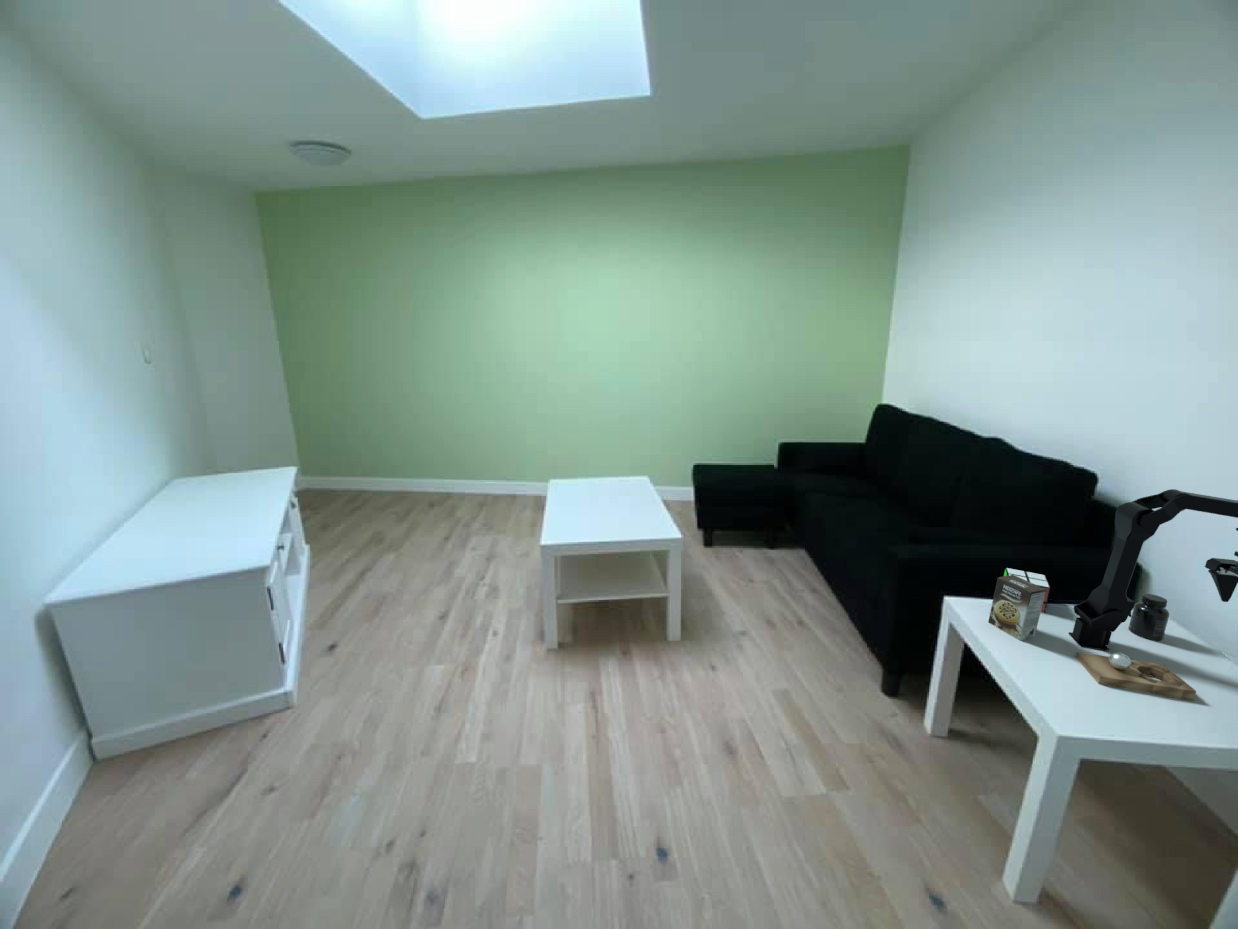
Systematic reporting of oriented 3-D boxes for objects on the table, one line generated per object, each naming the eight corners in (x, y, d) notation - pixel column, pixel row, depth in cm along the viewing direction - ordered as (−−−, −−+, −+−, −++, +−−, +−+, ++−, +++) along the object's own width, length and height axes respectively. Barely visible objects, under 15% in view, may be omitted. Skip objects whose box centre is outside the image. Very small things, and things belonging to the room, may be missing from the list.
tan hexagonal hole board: (1097, 685, 120) (1100, 676, 120) (1074, 660, 129) (1076, 652, 129) (1193, 700, 115) (1196, 691, 114) (1162, 673, 124) (1164, 664, 124)
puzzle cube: (1044, 618, 149) (1051, 588, 147) (1002, 609, 154) (1008, 579, 152) (1038, 603, 157) (1045, 574, 155) (999, 595, 162) (1005, 567, 160)
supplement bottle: (1157, 634, 141) (1168, 595, 138) (1165, 646, 135) (1178, 606, 132) (1123, 626, 145) (1134, 589, 142) (1131, 638, 139) (1142, 599, 136)
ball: (1113, 671, 121) (1117, 657, 120) (1103, 661, 125) (1106, 647, 124) (1133, 674, 120) (1137, 660, 119) (1122, 664, 124) (1126, 650, 123)
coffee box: (985, 627, 144) (996, 576, 140) (1001, 623, 146) (1012, 573, 142) (1018, 645, 136) (1030, 592, 132) (1035, 641, 138) (1047, 588, 134)
